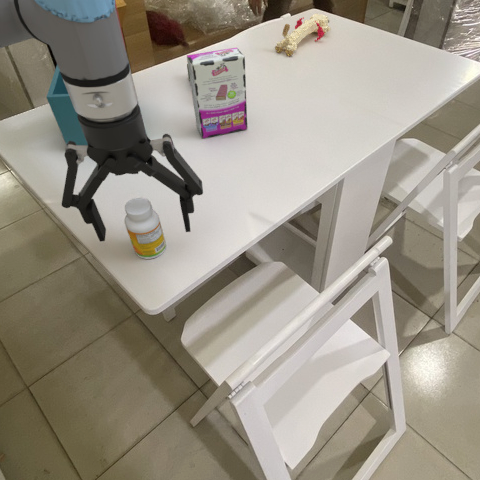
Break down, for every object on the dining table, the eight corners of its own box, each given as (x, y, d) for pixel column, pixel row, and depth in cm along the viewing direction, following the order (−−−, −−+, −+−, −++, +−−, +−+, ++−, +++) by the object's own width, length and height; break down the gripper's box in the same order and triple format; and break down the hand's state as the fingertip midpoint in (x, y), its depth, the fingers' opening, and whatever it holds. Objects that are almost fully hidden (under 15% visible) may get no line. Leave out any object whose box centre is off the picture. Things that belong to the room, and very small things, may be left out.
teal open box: (136, 146, 88) (122, 93, 78) (69, 151, 86) (46, 97, 76) (138, 102, 99) (126, 51, 90) (79, 106, 97) (60, 54, 88)
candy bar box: (240, 119, 96) (237, 46, 84) (247, 129, 94) (246, 56, 81) (195, 128, 93) (185, 53, 80) (201, 139, 90) (192, 64, 78)
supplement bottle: (134, 239, 71) (119, 196, 63) (165, 235, 71) (154, 192, 64) (134, 262, 67) (119, 219, 60) (167, 257, 68) (156, 215, 61)
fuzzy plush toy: (297, 63, 119) (337, 29, 131) (298, 31, 112) (340, -1, 123) (269, 54, 122) (311, 22, 134) (268, 23, 115) (313, -8, 127)
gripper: (-10, 131, 45) (62, 256, 62) (211, 116, 49) (224, 238, 65) (5, 98, 50) (69, 223, 66) (206, 87, 53) (219, 207, 70)
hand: (146, 230), depth 66 cm, fingers open, 13 cm apart
